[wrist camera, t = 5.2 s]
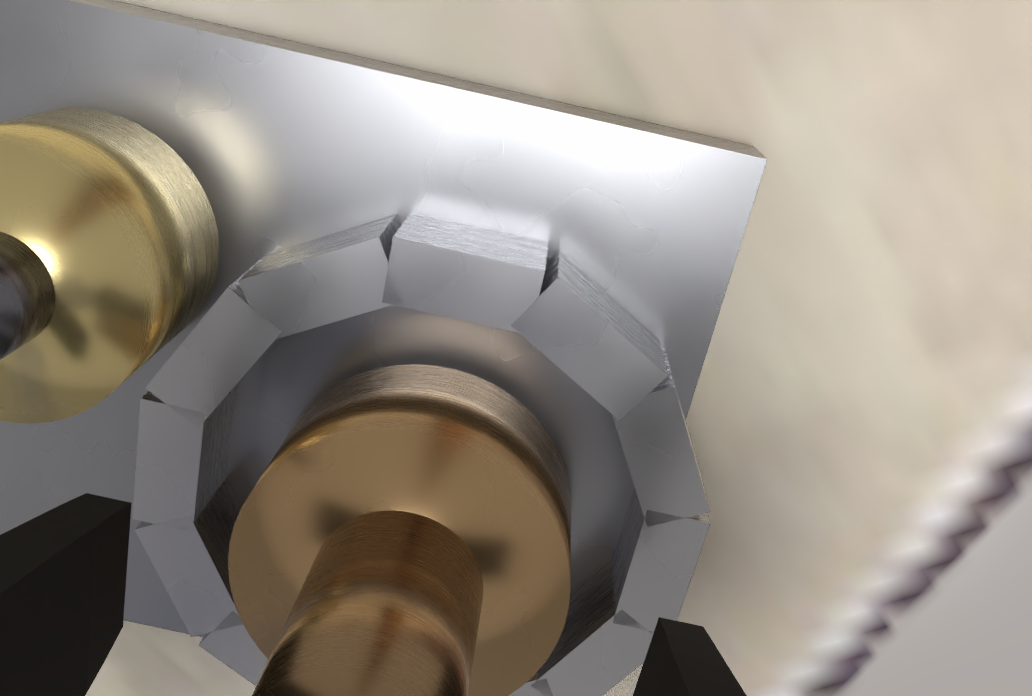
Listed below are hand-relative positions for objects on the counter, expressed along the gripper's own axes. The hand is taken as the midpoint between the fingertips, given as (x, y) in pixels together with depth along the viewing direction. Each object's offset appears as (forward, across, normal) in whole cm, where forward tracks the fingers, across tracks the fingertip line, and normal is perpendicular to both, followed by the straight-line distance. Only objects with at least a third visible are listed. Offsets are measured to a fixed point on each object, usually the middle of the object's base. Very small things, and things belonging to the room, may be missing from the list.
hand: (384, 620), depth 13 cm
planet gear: (+4, 0, 0) cm, 4 cm away
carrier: (+5, +2, -1) cm, 6 cm away
